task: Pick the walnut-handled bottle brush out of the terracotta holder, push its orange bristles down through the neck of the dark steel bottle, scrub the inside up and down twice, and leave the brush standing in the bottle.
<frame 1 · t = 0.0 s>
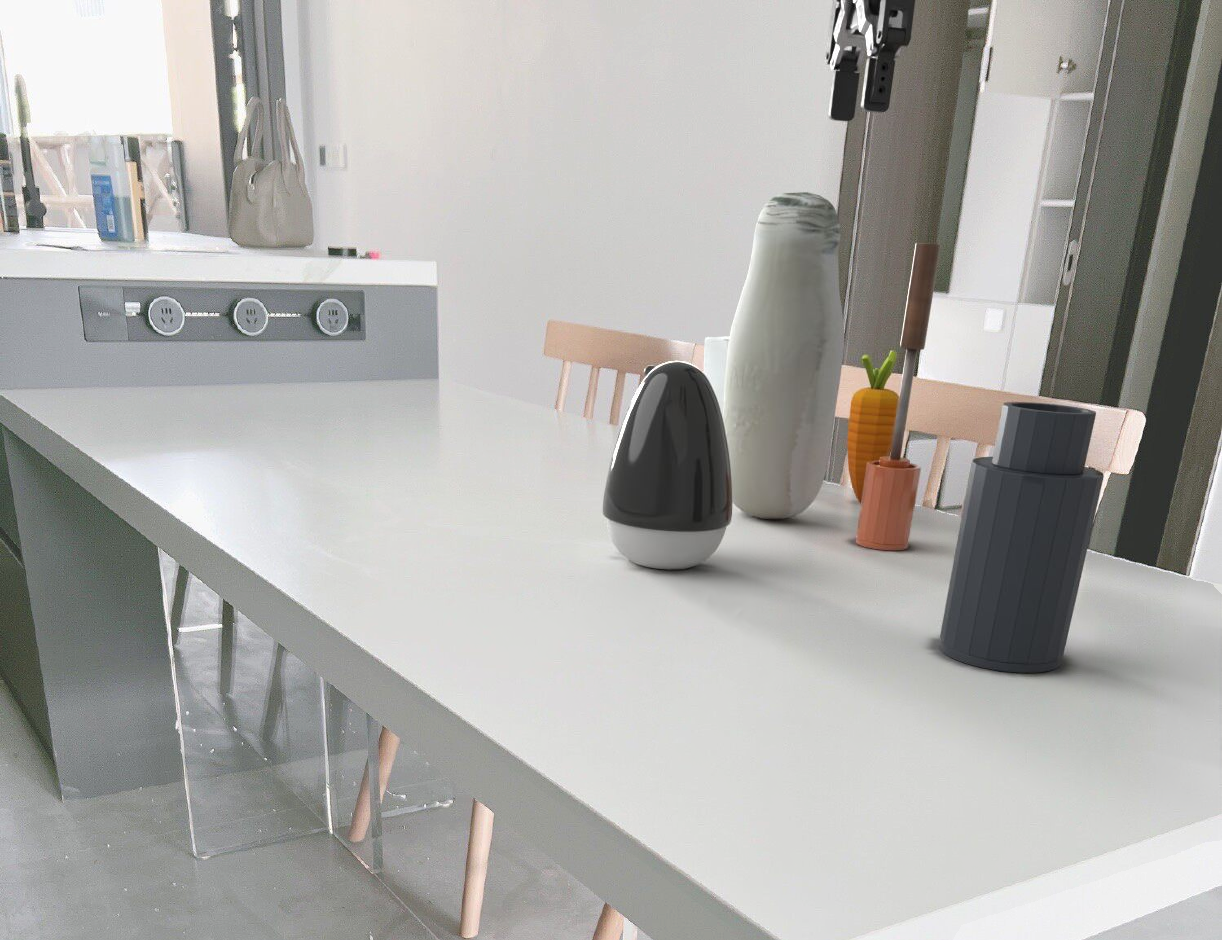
hand: (856, 116, 105), 34 cm above the table, tool pointing down, fingers open, 8 cm apart
bottle brush: (882, 539, 109), resting on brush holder
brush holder: (881, 544, 110), on the table
carrot: (860, 504, 128), on the table
dark egg shaped ornament: (662, 564, 98), on the table
cosmetic box: (736, 479, 138), on the table
pale grey bottle: (765, 518, 118), on the table
steel bottle: (999, 654, 80), on the table
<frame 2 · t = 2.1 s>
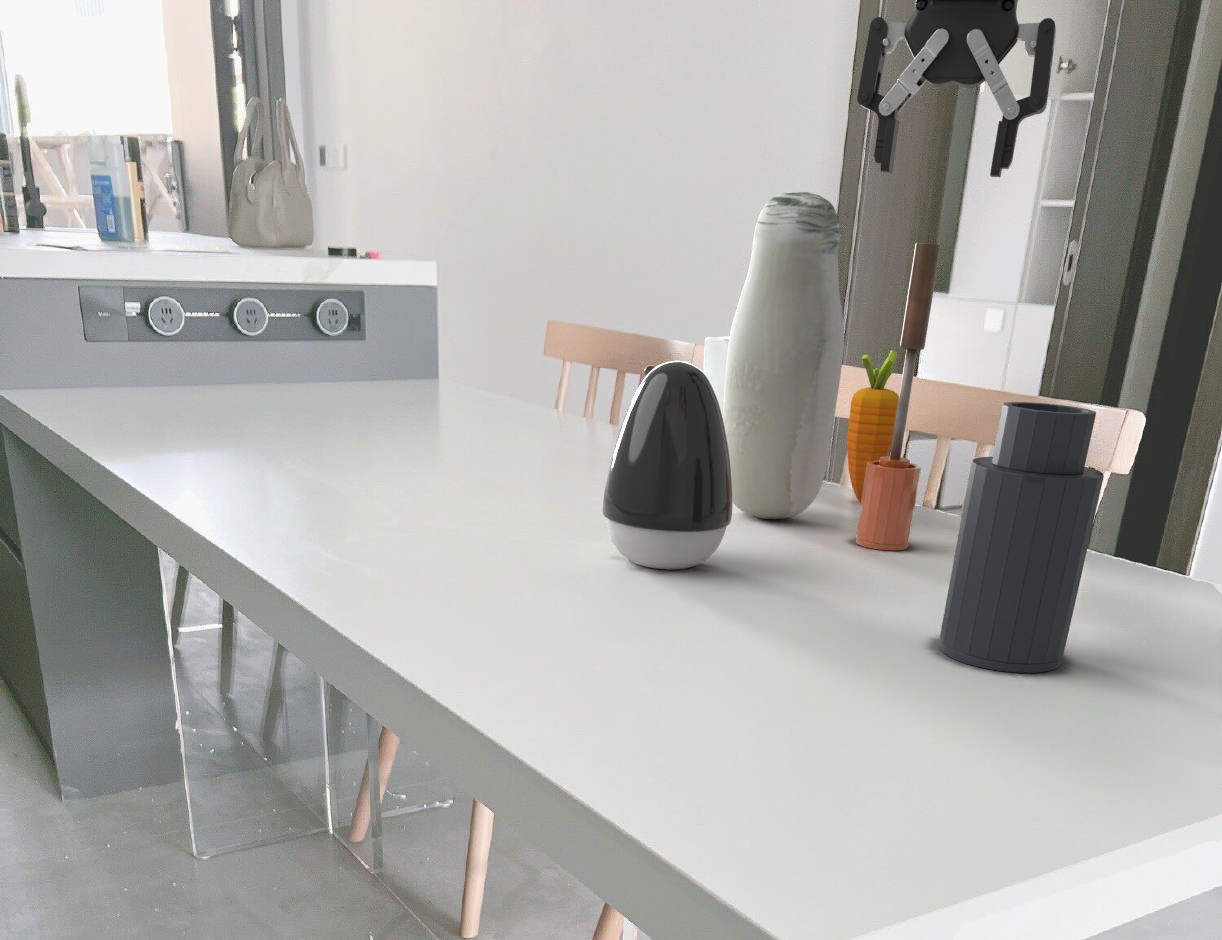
hand: (939, 174, 97), 30 cm above the table, tool pointing down, fingers open, 8 cm apart
nothing on the table moved.
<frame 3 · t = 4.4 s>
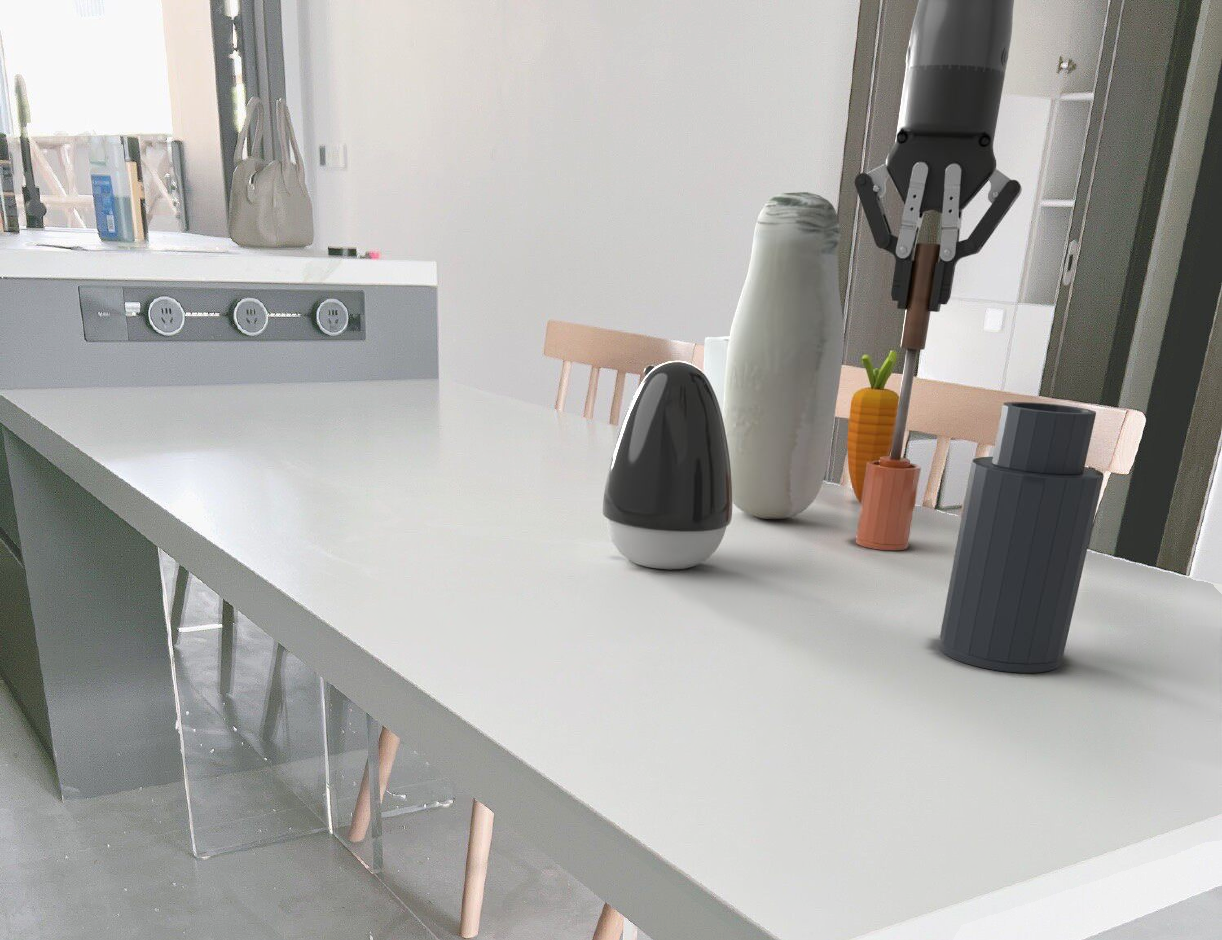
hand: (918, 309, 101), 20 cm above the table, tool pointing down, fingers closed on bottle brush, 2 cm apart
bottle brush: (882, 539, 109), point 1 cm above the table, touching gripper
everything else where it was.
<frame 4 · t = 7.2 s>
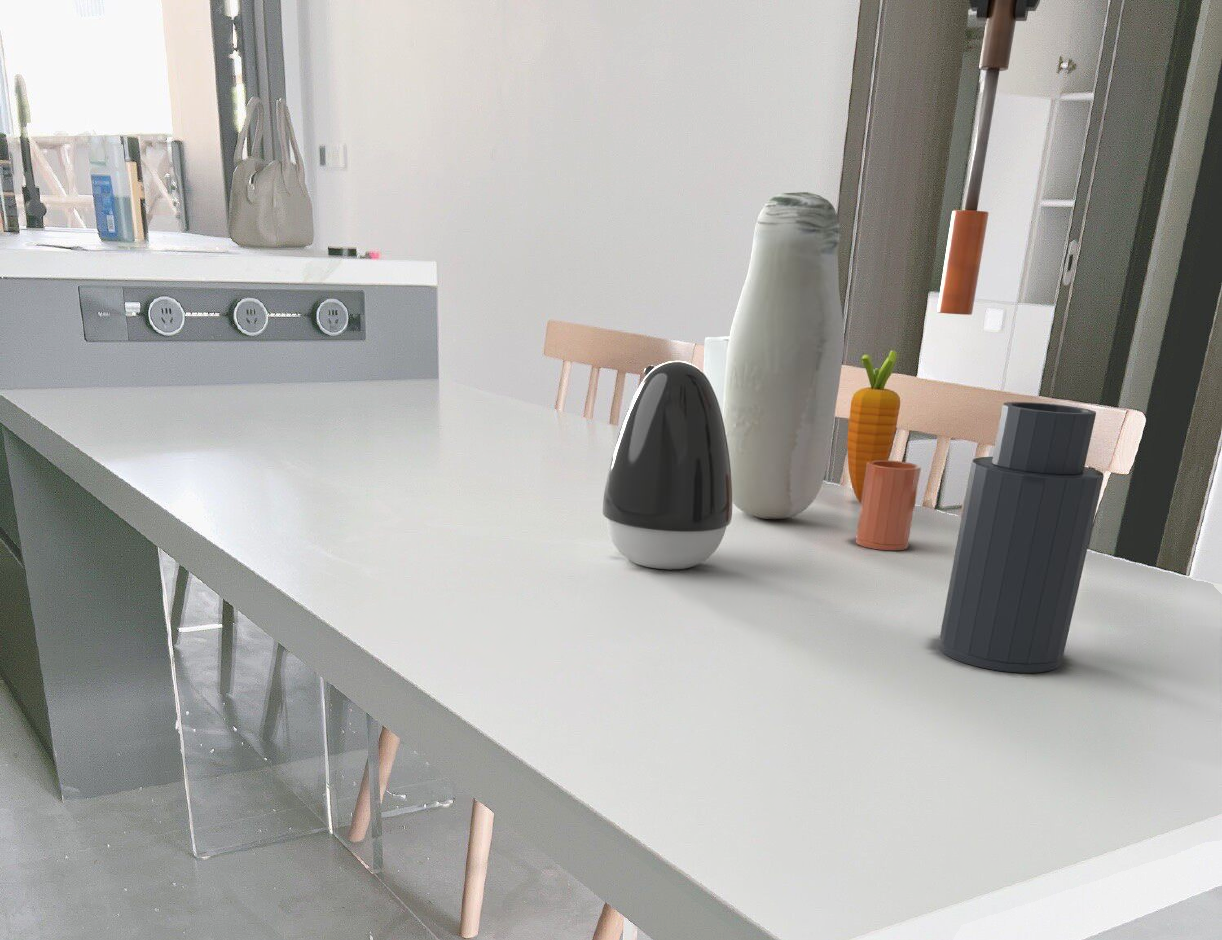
hand: (1001, 18, 85), 39 cm above the table, tool pointing down, fingers closed on bottle brush
bottle brush: (954, 313, 93), point 20 cm above the table, touching gripper
everything else where it was.
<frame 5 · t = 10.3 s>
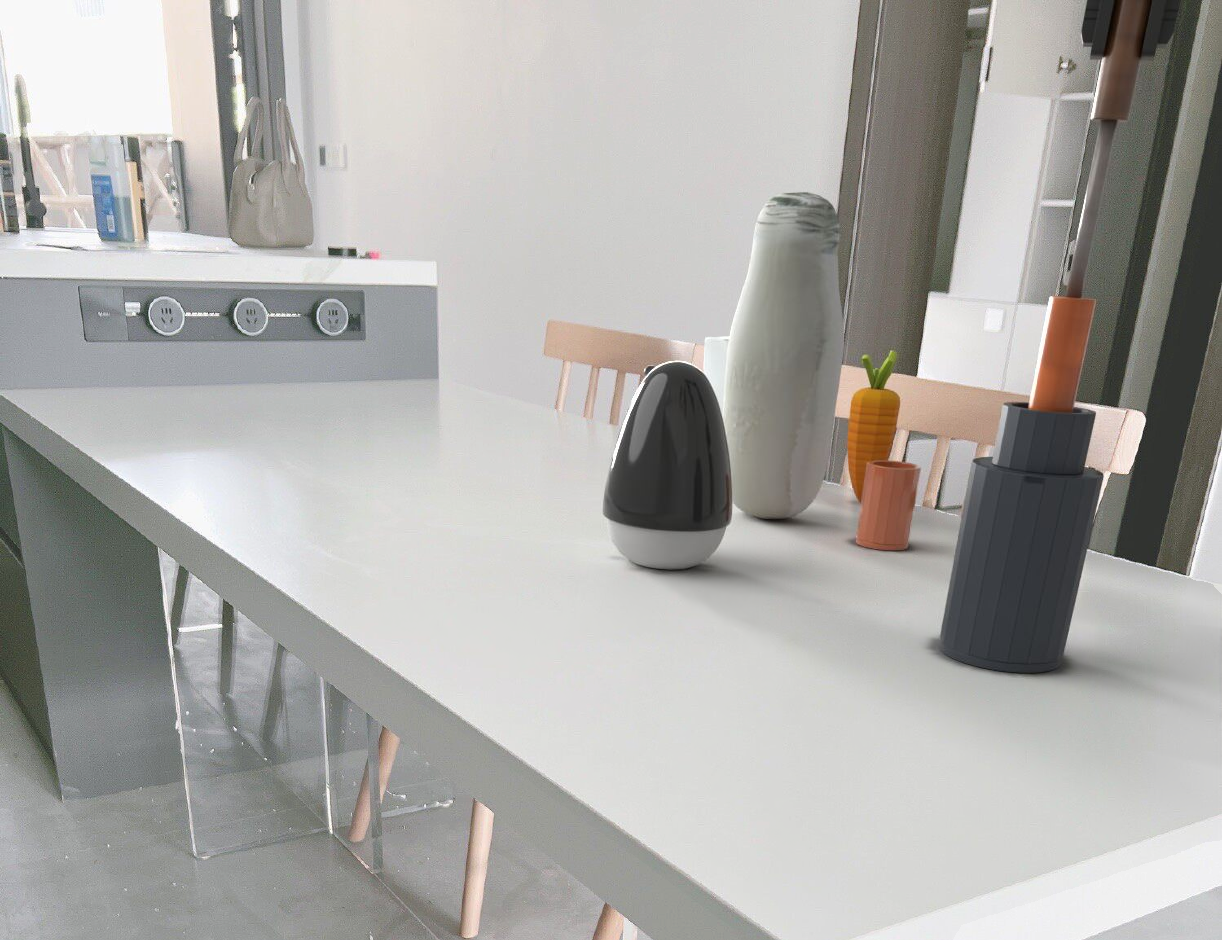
hand: (1121, 56, 66), 34 cm above the table, tool pointing down, fingers closed on bottle brush
bottle brush: (1047, 422, 74), point 15 cm above the table, touching gripper
everything else where it was.
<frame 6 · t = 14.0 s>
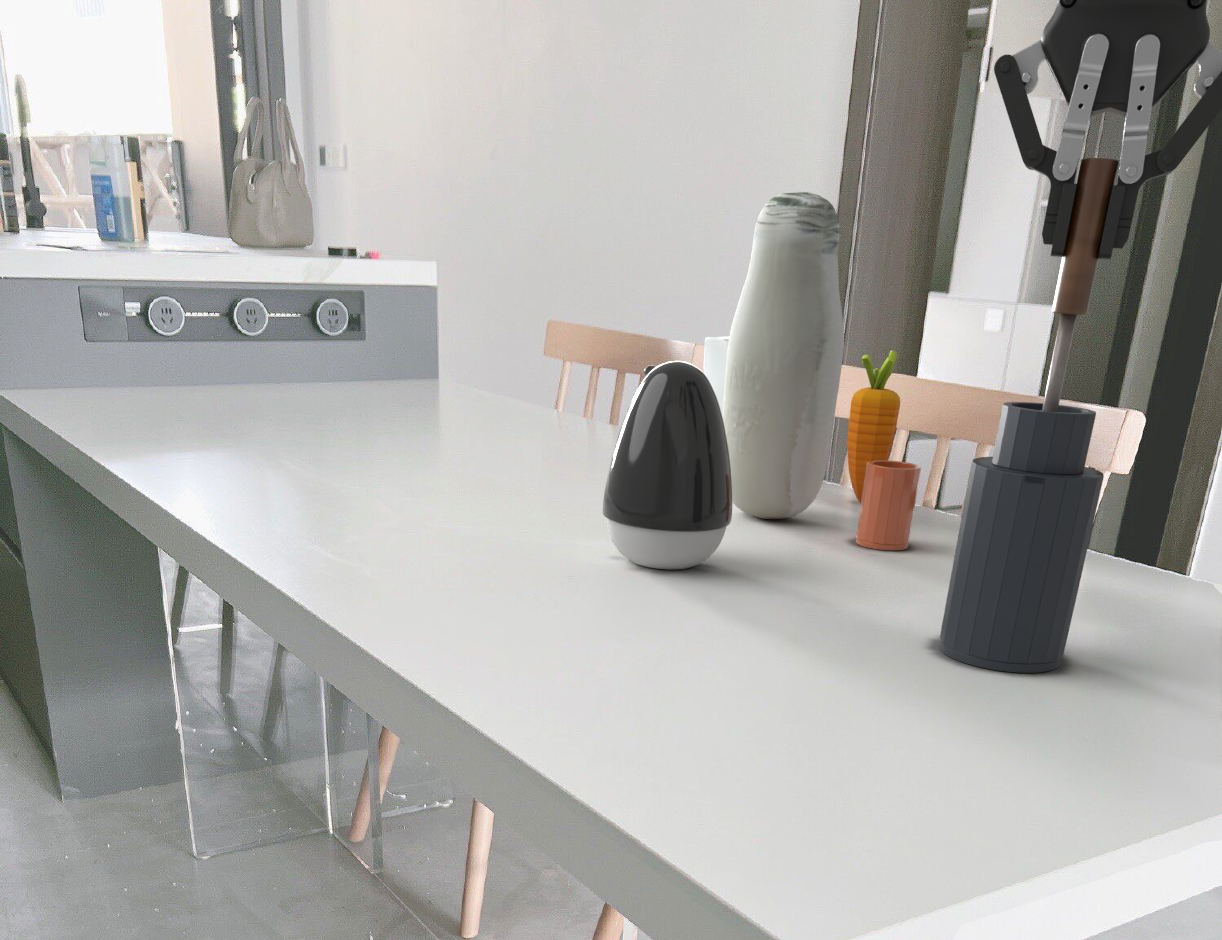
hand: (1080, 256, 70), 24 cm above the table, tool pointing down, fingers closed on bottle brush
bottle brush: (1014, 582, 78), point 5 cm above the table, touching gripper
everything else where it was.
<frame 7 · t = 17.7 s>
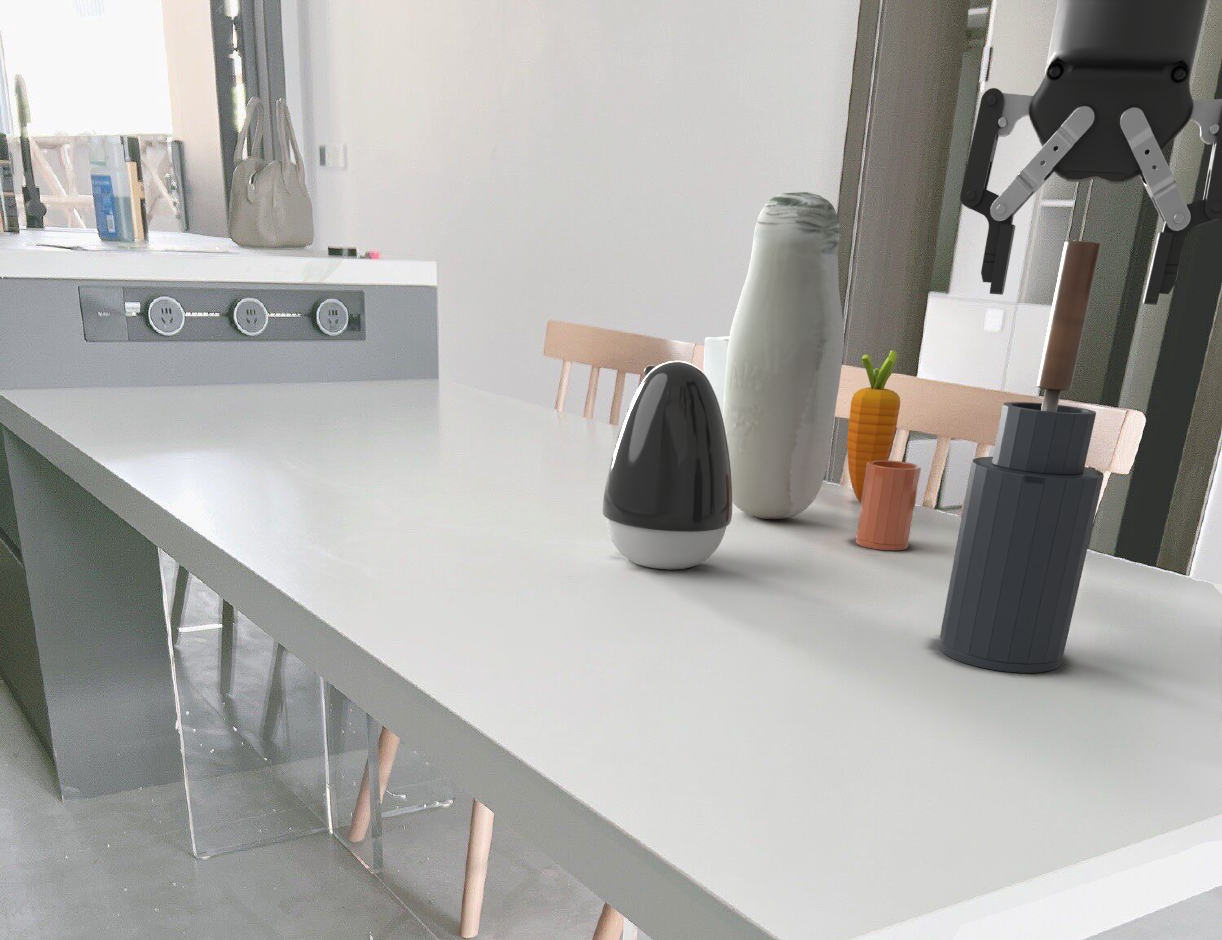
hand: (1071, 299, 71), 22 cm above the table, tool pointing down, fingers open, 8 cm apart
bottle brush: (1001, 645, 80), point 1 cm above the table, touching steel bottle
everything else where it was.
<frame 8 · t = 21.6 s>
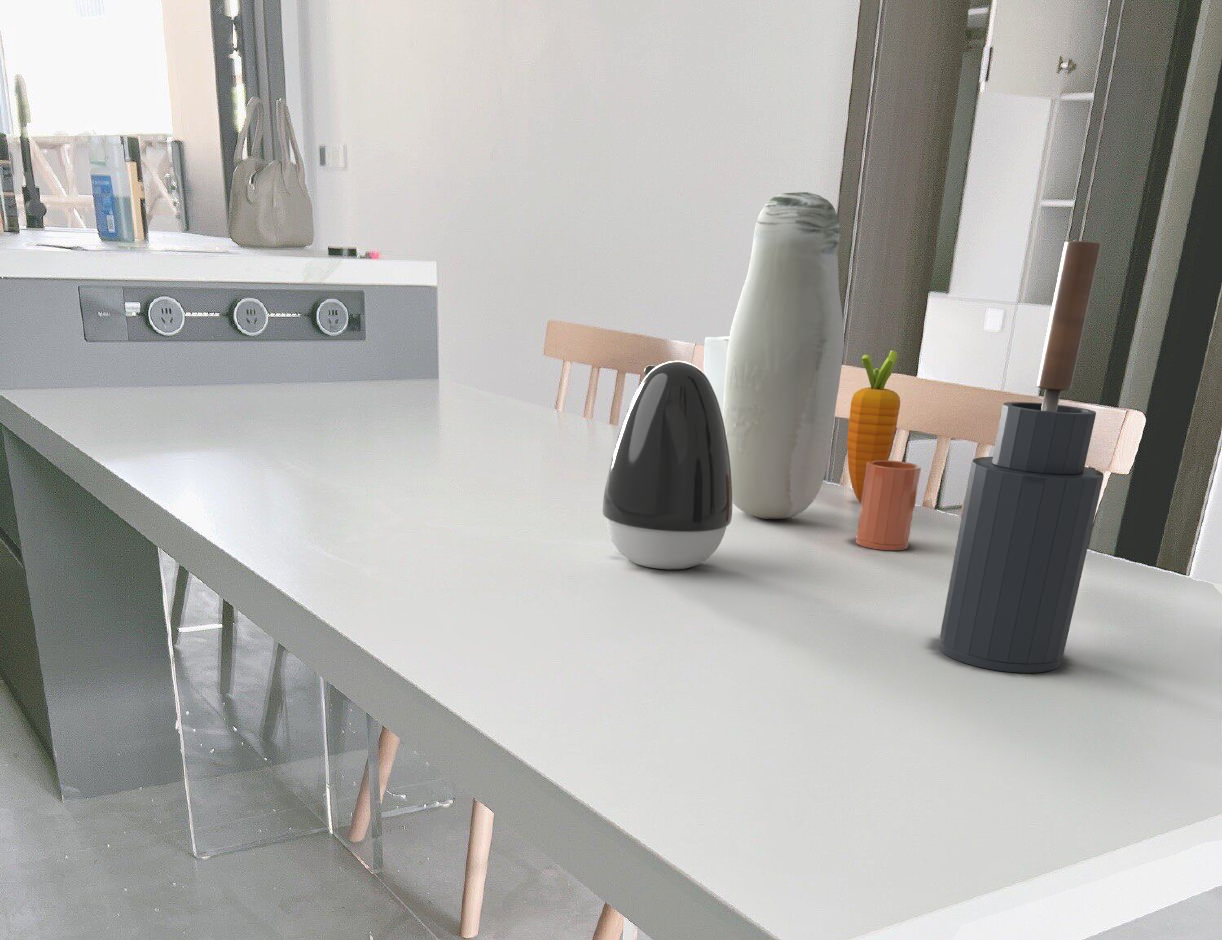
nothing on the table moved.
at the end: bottle brush 0.0 cm off-centre in the steel bottle, point 0.6 cm above the steel bottle's base; bottle brush moved 32.3 cm from its start; the gripper is holding nothing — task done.
